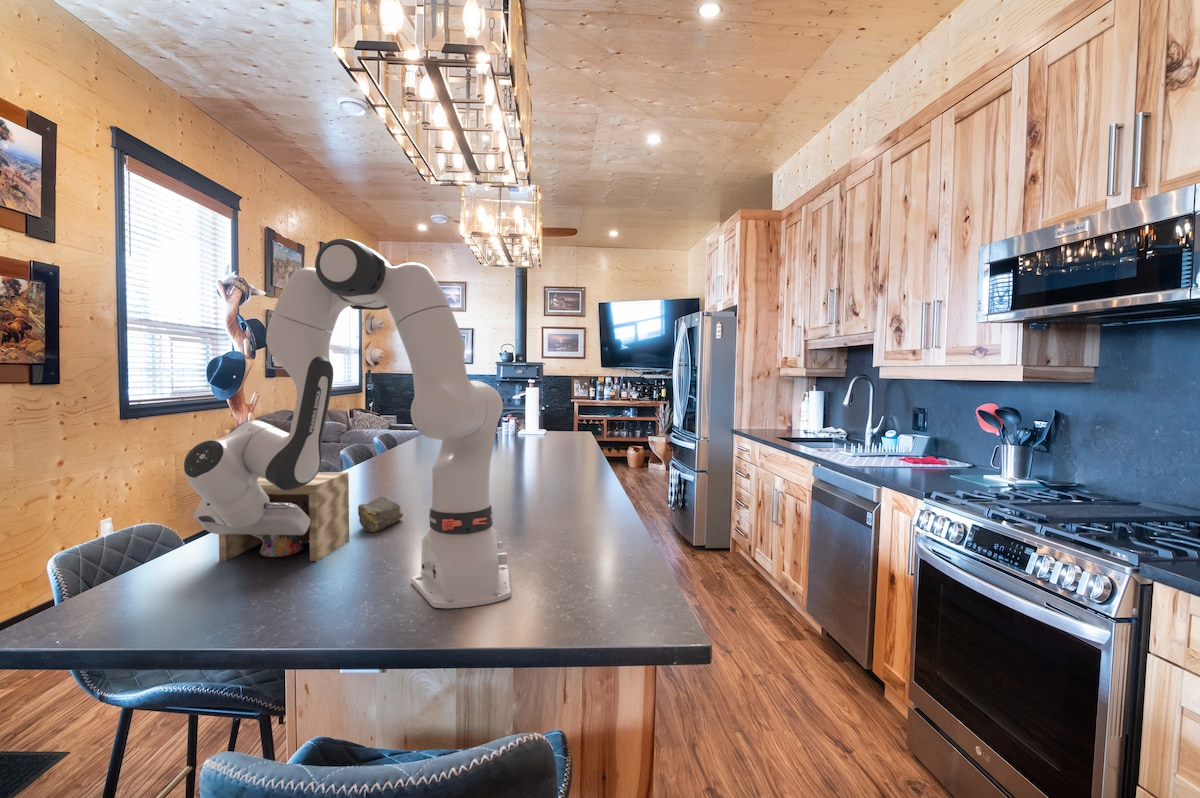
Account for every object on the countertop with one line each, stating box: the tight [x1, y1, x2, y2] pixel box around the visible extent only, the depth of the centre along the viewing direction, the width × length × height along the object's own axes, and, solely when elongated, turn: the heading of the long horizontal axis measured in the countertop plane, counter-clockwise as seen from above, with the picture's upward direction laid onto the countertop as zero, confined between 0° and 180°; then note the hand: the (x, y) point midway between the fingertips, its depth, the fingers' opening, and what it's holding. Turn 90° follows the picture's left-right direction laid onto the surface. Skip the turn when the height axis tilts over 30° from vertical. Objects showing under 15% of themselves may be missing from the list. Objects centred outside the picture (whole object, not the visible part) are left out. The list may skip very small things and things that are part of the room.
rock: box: [357, 496, 404, 533], centre depth 153 cm, size 17×7×10 cm
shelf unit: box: [218, 471, 350, 562], centre depth 131 cm, size 16×21×16 cm
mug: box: [259, 502, 304, 558], centre depth 131 cm, size 12×9×11 cm
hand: (271, 538), depth 126 cm, fingers closed, pressing on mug
